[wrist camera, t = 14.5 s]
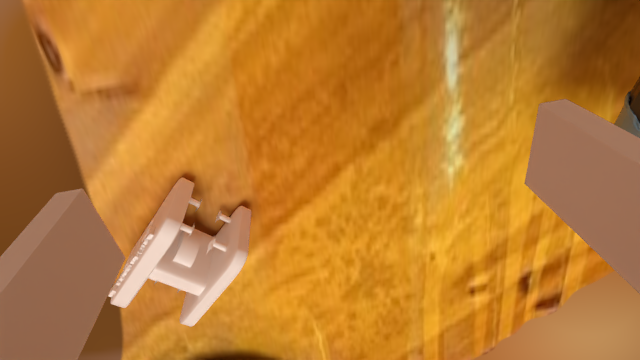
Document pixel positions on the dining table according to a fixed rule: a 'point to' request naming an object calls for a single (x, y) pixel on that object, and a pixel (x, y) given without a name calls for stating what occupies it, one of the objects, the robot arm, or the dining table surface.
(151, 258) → the cable organizer
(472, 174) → the dining table surface
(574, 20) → the dining table surface
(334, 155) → the dining table surface
